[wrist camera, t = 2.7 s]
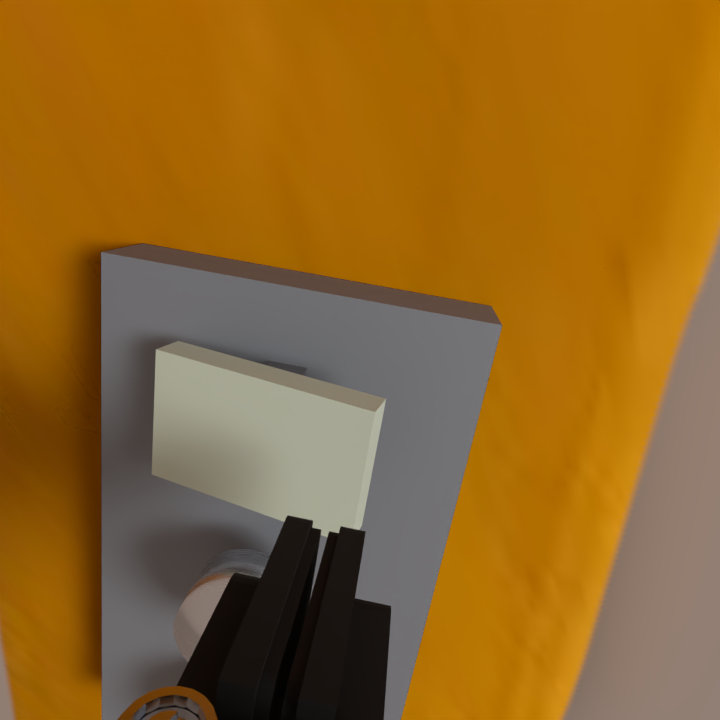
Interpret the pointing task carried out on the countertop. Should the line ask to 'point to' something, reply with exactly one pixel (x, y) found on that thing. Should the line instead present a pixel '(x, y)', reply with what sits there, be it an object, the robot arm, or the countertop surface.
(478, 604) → the countertop surface
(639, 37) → the countertop surface
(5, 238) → the countertop surface
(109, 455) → the panel
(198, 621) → the button metal
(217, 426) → the block
